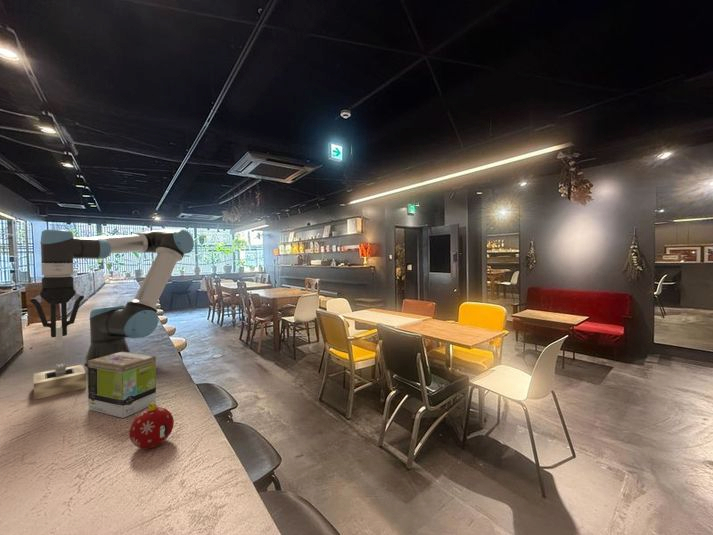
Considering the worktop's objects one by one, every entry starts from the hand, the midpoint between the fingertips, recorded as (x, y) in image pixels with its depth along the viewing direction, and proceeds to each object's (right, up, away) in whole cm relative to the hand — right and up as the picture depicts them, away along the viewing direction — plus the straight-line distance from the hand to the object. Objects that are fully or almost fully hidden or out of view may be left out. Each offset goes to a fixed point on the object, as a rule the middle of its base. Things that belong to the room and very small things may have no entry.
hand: (59, 346), depth 100 cm
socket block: (0, -14, 0) cm, 14 cm away
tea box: (+31, -15, -12) cm, 36 cm away
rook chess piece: (0, -15, +1) cm, 15 cm away
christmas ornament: (+52, -16, -30) cm, 62 cm away
